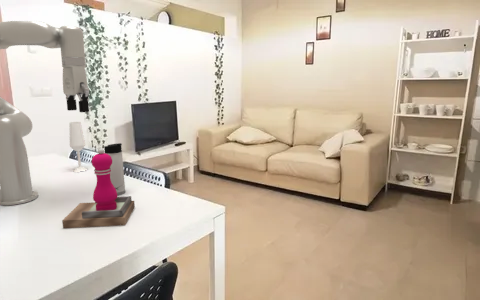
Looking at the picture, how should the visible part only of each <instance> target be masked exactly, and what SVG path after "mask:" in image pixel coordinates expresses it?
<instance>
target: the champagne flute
mask: <svg viewBox="0 0 480 300" xmlns="http://www.w3.org/2000/svg"><path fill="white" fill-rule="evenodd" d="M84 137H85V136H84V132H83V127H82V123H81V121H70V122H69V147H70V148H71V149H72V150H74V152H76V155H77V163H78V166H77V167H76V168H75V169H73V171H74V172H73V173H81V172H80V171H84V172H86V171H85V170H87V169H88V168H86V167H83V166H82V161H81V151H82V150H83V149H84V148H85V146H86V142H85V141H86V140H85V138H84ZM87 171H88V170H87Z"/></svg>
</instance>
